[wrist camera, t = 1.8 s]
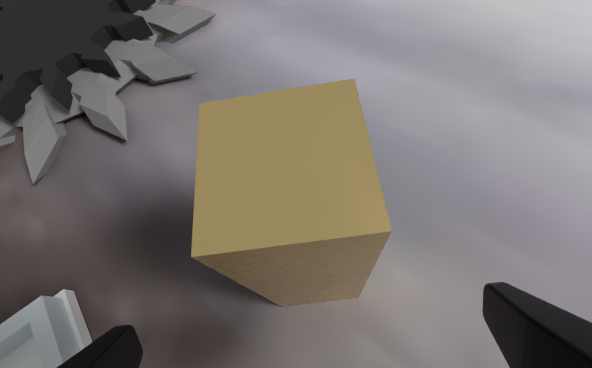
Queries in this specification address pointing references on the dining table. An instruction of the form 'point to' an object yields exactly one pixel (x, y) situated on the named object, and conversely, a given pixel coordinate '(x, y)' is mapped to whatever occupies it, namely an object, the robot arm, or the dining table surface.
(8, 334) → the white shallow tray
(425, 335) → the dining table surface
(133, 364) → the robot arm
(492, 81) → the dining table surface
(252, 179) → the billet
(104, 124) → the decorative piece
